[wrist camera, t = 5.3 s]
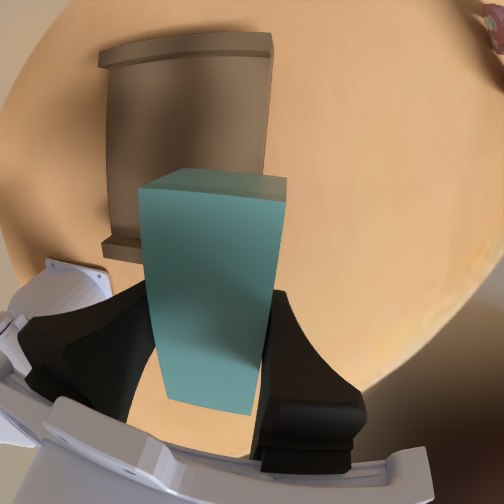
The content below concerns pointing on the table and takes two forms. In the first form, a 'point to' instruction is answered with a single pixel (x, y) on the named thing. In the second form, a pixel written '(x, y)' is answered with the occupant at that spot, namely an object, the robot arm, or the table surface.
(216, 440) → the table surface
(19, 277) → the table surface
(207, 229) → the teal rectangular block
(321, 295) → the table surface
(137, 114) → the display stand
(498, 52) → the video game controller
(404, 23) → the table surface
